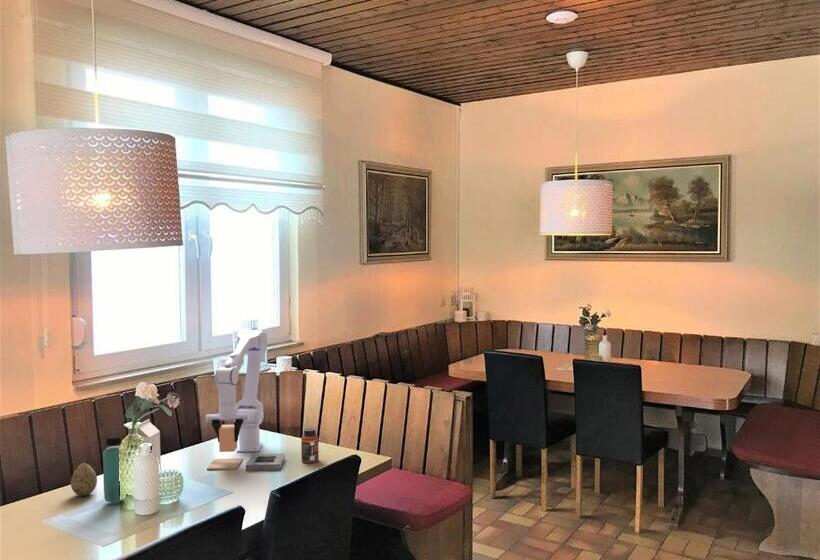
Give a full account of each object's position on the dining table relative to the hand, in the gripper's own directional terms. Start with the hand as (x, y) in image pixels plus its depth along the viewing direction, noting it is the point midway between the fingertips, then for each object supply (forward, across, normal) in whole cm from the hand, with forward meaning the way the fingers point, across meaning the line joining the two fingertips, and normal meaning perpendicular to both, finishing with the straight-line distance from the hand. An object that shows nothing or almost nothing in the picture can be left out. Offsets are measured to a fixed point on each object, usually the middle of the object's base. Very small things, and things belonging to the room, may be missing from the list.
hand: (228, 441), depth 231 cm
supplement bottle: (+9, +28, +2) cm, 29 cm away
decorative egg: (+9, -38, -25) cm, 46 cm away
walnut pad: (+8, -1, 0) cm, 8 cm away
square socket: (+8, +13, -1) cm, 15 cm away
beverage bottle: (+9, -26, -32) cm, 42 cm away
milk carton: (+9, -24, -12) cm, 28 cm away
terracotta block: (+3, 0, 0) cm, 3 cm away
